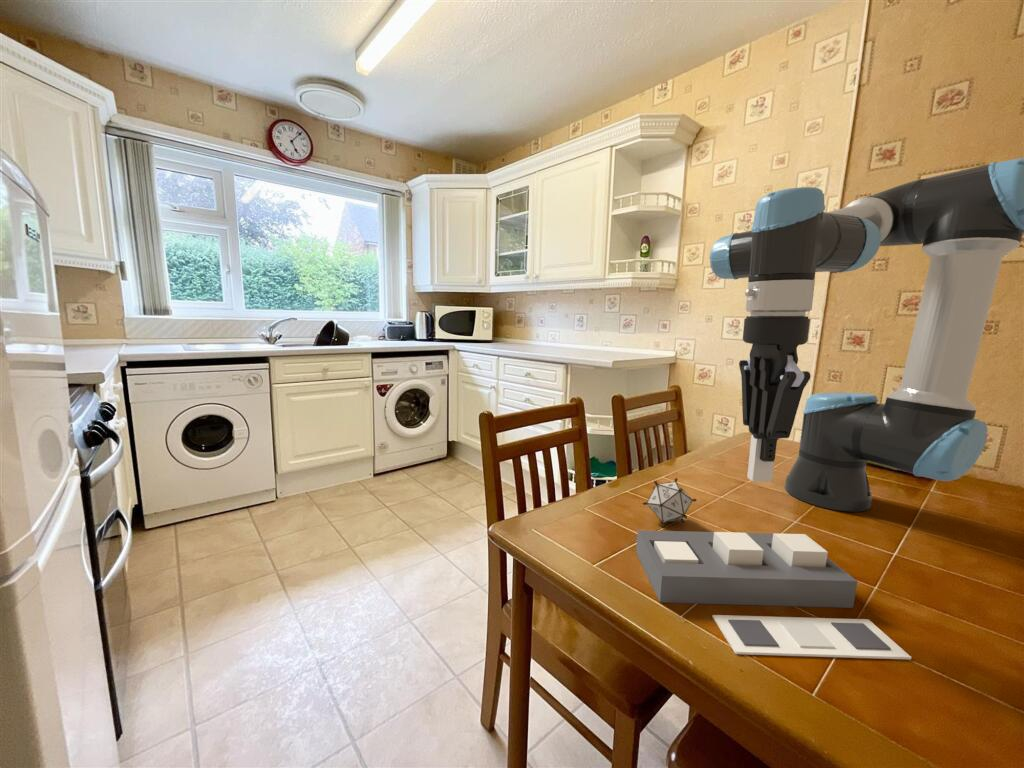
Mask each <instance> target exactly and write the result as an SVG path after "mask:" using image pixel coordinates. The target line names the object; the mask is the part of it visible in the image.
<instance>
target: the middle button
mask: <svg viewBox="0 0 1024 768" xmlns="http://www.w3.org/2000/svg"><path fill="white" fill-rule="evenodd" d="M713 532H714V538H713V547H712V548H713V549H714V551H715V552H716V553H717V554H718V556H719V557H720V558H721V559H722V560H723V562H724V563H725V564H726V565H758V566H762V559H763V551H764V550H763V549H762V548H761V547H760V546H759V545H758V544H757V543H756V542H755V541H754V540H753V539H752V538H751V537H749V536H748V535H747V534H746V533H747V532H732V531H726V532H725V531H713Z"/></svg>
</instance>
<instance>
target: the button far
mask: <svg viewBox="0 0 1024 768" xmlns="http://www.w3.org/2000/svg"><path fill="white" fill-rule="evenodd" d="M654 550H655V551H656V553H657V555H658V557H659V558H660V560H661V562H662V563H682V564H698V562H699V560H698V558H697V557H696V556H695V554H694V553H693V551H692V550H691V549H690V547H689V546H688V545H687V543H686V542H670V541H654Z"/></svg>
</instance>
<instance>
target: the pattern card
mask: <svg viewBox="0 0 1024 768" xmlns="http://www.w3.org/2000/svg"><path fill="white" fill-rule="evenodd" d="M711 617H712V619H713V621H714V622H715V624H716V625H717V627H718V628H719V629H720V632H721V633H722V635H723V637H724V638H725V640H726V641H727V643H728V644H729V646H730V647H731V650H733V653H734V654H735V655H752V656H754V655H755V656H784V657H785V656H786V657H819V658H845V659H846V658H852V659H879V660H880V659H883V660H890V659H891V660H912V656H911V655H909V653H907V652H906V651H905V650H904V649H903V648H902V647H900V646H899V645H898V644H897V643H896V642H895V641H894V640H893V639H891V638H890V637H889V636H888V635H887V634H886V633H884V631H882V630H881V629H880V628H879V627H878V626H876V625H875V623H873V621H871V620H870V619H866V618H860V619H859V618H836V617H835V618H832V617H829V618H828V617H827V618H826V617H800V616H799V617H796V616H794V617H793V616H767V615H765V616H764V615H730V614H728V615H727V614H726V615H725V614H723V615H722V614H712V616H711Z"/></svg>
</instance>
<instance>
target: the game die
mask: <svg viewBox="0 0 1024 768" xmlns="http://www.w3.org/2000/svg"><path fill="white" fill-rule="evenodd" d="M678 480H679V479H678V477H675V478H674V481H669V482H668V481H667V482H663V483H662V482H661V483H660V482H659V483H658V482H657V480H653V484H654V485H655V486H653V488H652V489H653V490H652V492H651V494H649V497H648V499H647V501H646V502H643V503H642V505H644V506H645V505H646V506H648V508H649V509H650V510H652V512H653V513H654V514H655V516H656V517H657V518H658V519H659V520H660V521H661V523H660V528H662V527H664V525H665V523H666V524H667V523H670V522H678V521H680V522H681V523H683V524H684V523H685V520H686V519H688V515H686V513H687V512H688V510H689V508H690V506H691V504H692V503H693V502H697V501H698V499H696V498H692V497H691V496H689V494H688V493H687V492H686V491H685V490H684V488H682V487H681V485H680V484H679V483H678Z"/></svg>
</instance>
